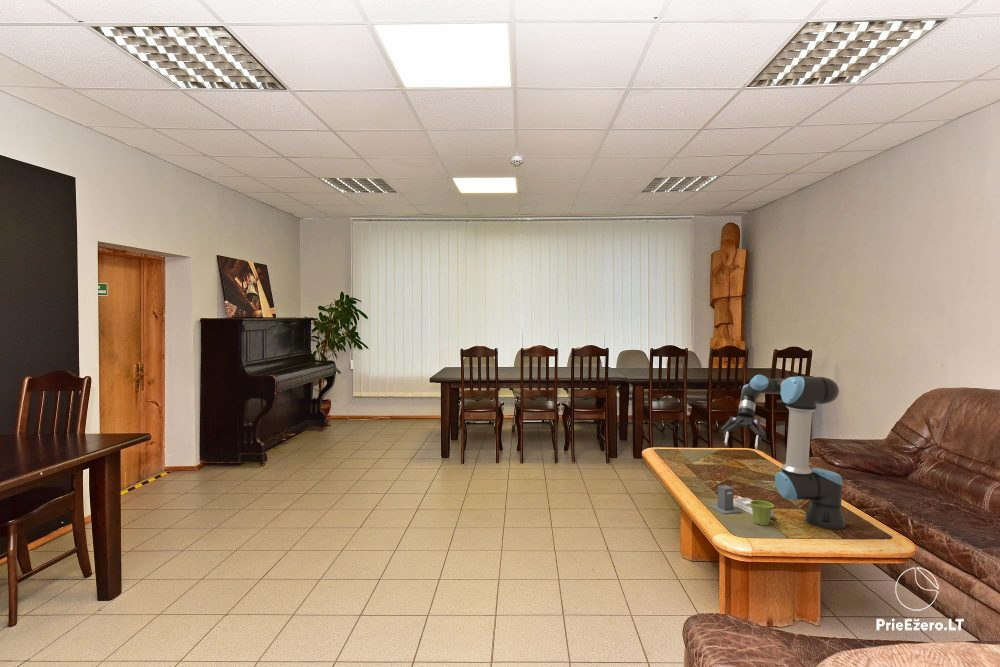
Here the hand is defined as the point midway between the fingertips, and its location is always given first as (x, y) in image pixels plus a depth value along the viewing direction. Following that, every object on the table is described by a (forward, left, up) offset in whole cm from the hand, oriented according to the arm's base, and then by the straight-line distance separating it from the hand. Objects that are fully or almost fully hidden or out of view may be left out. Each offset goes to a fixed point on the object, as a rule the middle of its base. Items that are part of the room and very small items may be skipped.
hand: (740, 446), depth 263 cm
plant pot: (-25, +10, -28) cm, 39 cm away
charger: (-7, +14, -27) cm, 31 cm away
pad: (-7, +14, -27) cm, 32 cm away
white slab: (-11, +2, -27) cm, 30 cm away
